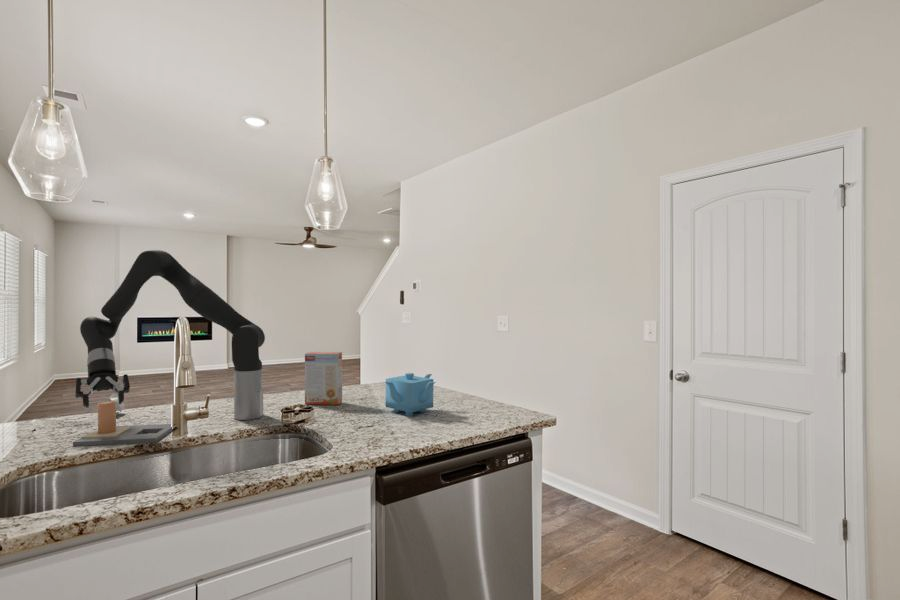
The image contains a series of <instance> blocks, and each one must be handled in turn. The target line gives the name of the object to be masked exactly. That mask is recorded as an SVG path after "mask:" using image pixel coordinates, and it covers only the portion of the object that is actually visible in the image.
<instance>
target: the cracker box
mask: <svg viewBox="0 0 900 600" xmlns="http://www.w3.org/2000/svg"><path fill="white" fill-rule="evenodd" d="M342 402H343V351H342V352H340V351H339V352H337V351H336V352H333V351H330V352H329V351H310V352H306V353H304V404H305V405H326V406H328V405H329V406H338V405H340V404H341V403H342Z"/></svg>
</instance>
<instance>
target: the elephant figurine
mask: <svg viewBox="0 0 900 600" xmlns="http://www.w3.org/2000/svg"><path fill="white" fill-rule="evenodd" d="M107 401H116V411H120V412H116V414H117V413H118V414H119V413H121V412H123V411H122V410H124V411H125V407H126V408H129V406H128V405H127V404H125V403H124V401H123V402H122V403H121V404H119V401H118V393H116V392H115V393H112V394H111V395H110V396H109V397H102V398H101V399H100V401H99V402H98V403H101V402H107ZM98 403H97V404H96V405H97V406H98Z"/></svg>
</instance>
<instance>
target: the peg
mask: <svg viewBox="0 0 900 600" xmlns="http://www.w3.org/2000/svg"><path fill="white" fill-rule="evenodd" d="M97 404H98V405H97V429H98V434H107V433H112V432H115V431H116V426H117V413H116V401H107V402H101V403H99V402H98V403H97Z"/></svg>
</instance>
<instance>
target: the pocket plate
mask: <svg viewBox="0 0 900 600" xmlns="http://www.w3.org/2000/svg"><path fill="white" fill-rule="evenodd" d="M171 424H172V423H163V424H160V423H159V424H141V425H140V424H139V425H138V424H137V425H135V424H134V425H116V431H115V432H112V433H107V434H98V428H97V429H95V430H93V431H91V432H89V433H87V434H85V435H82V436H81V437H80V438H78V439H75V440H74V441H72V447H79V446H81V447H82V446H83V447H84V446H102V445H105V444H106V445H125V444H124V443H128V444H144V443H145V444H146V443H148V442H149V443H156V442H159V440H161V439H163V438H164V437H165V436H167V435H169V434H170V433H171V432H172V431H171V430H172V427H171Z"/></svg>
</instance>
